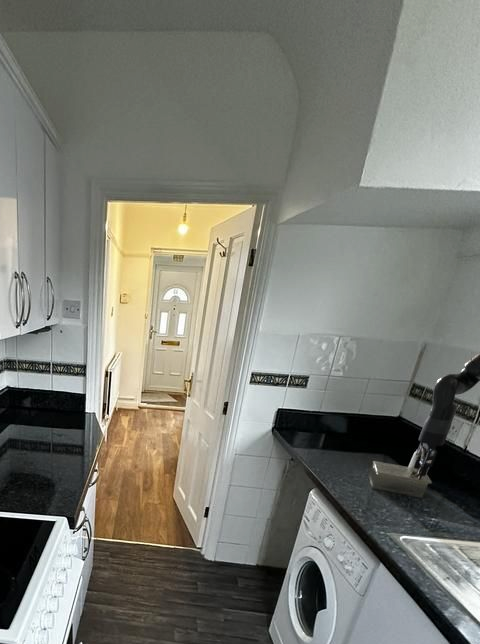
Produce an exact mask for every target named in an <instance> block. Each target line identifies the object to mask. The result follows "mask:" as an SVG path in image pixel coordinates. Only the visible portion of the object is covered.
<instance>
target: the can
mask: <svg viewBox="0 0 480 644" xmlns="http://www.w3.org/2000/svg"><path fill="white" fill-rule="evenodd" d="M417 450H418V448H417V449H416V451H414V453H413V455H412V457H411V459H410V462H409V464H408V466H407V467H411V468H414V464H415V462H416V459H417V458H416V453H417ZM426 463H428V461H427V462H426ZM429 469H430V467H429V468H428V470H429ZM426 474H427V475H428V472H427V473H426Z"/></svg>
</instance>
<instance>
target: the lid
mask: <svg viewBox="0 0 480 644" xmlns="http://www.w3.org/2000/svg"><path fill="white" fill-rule="evenodd" d="M372 464H374V467H375V470H376V473H377V474H380V475H385V476H390V477H396V478H401V479H407V480H412V481H417V482H423V483H428V485H432V483H433V481H432V480H431V478H430V477H429V475H428V473H427V474H426V475H425V476H419V475H418V472H419V470H420V467H421V464H422V460H421V461H420V462H419V464H420V467H419V469H415V468H411V467H408V466H404V465H399V464H394V463H387V462H382V461H377V460H373V461H372Z"/></svg>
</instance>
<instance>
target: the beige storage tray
mask: <svg viewBox="0 0 480 644" xmlns="http://www.w3.org/2000/svg"><path fill="white" fill-rule="evenodd" d="M367 476H368V480H369V481H368V482H369V483H370V486H371V489H372V490H377V491H382V492H388V493H391V494H392V493H393V494H397V495H403V496H408V497H411V498H412V497H413V498H418V499H423V497H424V494H425V492H426V490H427V487H428V485H429V484H428V483H423V482H417V481H412V480H407V479H401V478H396V477H390V476H385V475H380V474H377V473H376V470H375V467H374V464H373V463H372V464H371V467H370V470H369V472H368V475H367Z"/></svg>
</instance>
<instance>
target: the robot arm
mask: <svg viewBox="0 0 480 644" xmlns="http://www.w3.org/2000/svg"><path fill="white" fill-rule="evenodd" d="M478 383H480V351H479V352H477V353H476V354H475V355H473V356H472V357H470V358H469V359H468V360H467V361H466V362H465V363H464V368H462V370H460V371H459V372H458V373H447V374H444V375H442V376H440V377H439V379H437V381H436V382H435V385H434V388H433V393H432V394H433V395H432V404H431V408H430V410H429V413H428V415H427V418H426V419H425V421H424V424H423V426H422V429H421V431H420V434H419V437H418V442H420V443H419V445H418V448H417V449H418V450H417V449H416V451H417V453H416V458H417V459H416V462H415V464H414V468H415V469H419V467H420V464H419V462H420V461H421V460H422V464H421V467H420V470H419V472H418V475H419V476H425V475H426V473H427V474H428V472H429V469H430V468H432V467H433V465H434V462H435V460H436V458H437V455H438V450H436V447H440V446H444V444H445V442H446V440H447V437H448V435H449V432H450V430H451V427H452V423H453V420H454V418H455V415H456V413H457V410H458V404H457V403H455V402H454V401H455V398H456V396H457V395H458V396H459V395H462V394H464V393H465V394H466V392H468V391H470V390H472V389H473V388H474V387H475V386H476V385H477V384H478ZM427 461H428V463H426V462H427ZM428 468H429V469H428Z"/></svg>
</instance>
